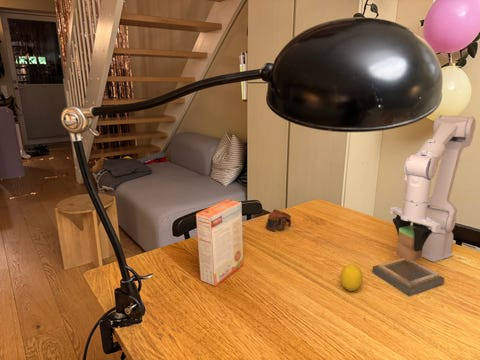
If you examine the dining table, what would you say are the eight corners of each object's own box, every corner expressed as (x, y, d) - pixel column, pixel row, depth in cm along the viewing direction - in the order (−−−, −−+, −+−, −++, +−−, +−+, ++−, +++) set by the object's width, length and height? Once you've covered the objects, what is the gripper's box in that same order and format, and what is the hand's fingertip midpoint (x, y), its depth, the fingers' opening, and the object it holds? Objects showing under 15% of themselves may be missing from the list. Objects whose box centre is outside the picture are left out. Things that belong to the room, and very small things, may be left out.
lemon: (362, 298, 89) (365, 270, 87) (340, 295, 90) (342, 268, 88) (359, 286, 95) (362, 259, 92) (338, 284, 96) (340, 258, 93)
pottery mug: (260, 226, 136) (268, 207, 137) (281, 234, 138) (288, 215, 139) (271, 230, 124) (279, 209, 125) (293, 239, 127) (301, 218, 128)
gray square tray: (404, 263, 106) (405, 254, 105) (443, 284, 95) (445, 275, 94) (372, 272, 101) (373, 264, 100) (409, 296, 90) (410, 287, 89)
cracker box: (228, 260, 109) (226, 198, 104) (244, 266, 106) (243, 201, 100) (198, 280, 98) (194, 212, 93) (215, 287, 95) (212, 216, 89)
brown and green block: (407, 250, 99) (411, 225, 97) (421, 257, 95) (425, 231, 93) (396, 254, 97) (399, 227, 95) (409, 261, 93) (413, 234, 91)
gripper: (383, 194, 97) (379, 238, 100) (429, 210, 84) (422, 261, 87) (402, 190, 99) (397, 234, 103) (449, 206, 86) (441, 255, 90)
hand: (410, 246), depth 95 cm, fingers closed on brown and green block, 4 cm apart
